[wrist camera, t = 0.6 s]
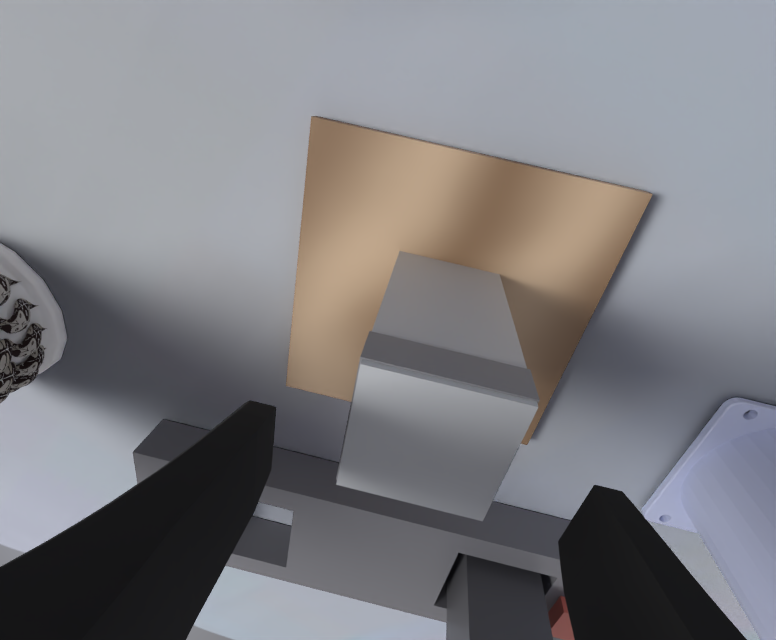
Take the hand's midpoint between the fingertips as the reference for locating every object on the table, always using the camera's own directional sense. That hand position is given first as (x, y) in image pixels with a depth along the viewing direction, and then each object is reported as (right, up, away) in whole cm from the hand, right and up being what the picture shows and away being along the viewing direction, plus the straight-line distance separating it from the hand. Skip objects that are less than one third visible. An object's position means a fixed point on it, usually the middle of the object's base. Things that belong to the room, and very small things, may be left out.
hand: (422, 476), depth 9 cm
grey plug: (+1, +4, +8) cm, 9 cm away
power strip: (-2, -9, +15) cm, 18 cm away
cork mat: (+1, +4, +8) cm, 9 cm away
